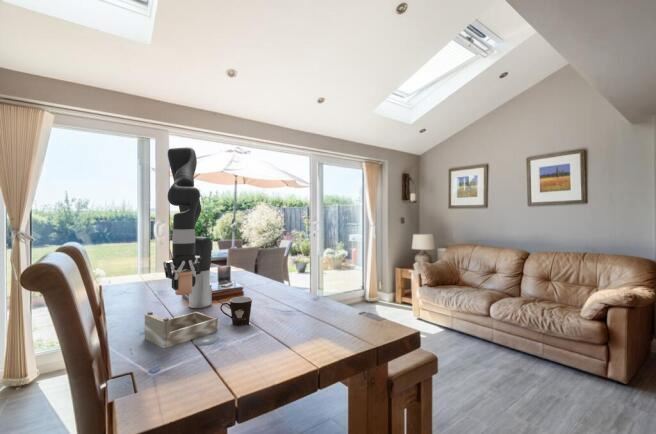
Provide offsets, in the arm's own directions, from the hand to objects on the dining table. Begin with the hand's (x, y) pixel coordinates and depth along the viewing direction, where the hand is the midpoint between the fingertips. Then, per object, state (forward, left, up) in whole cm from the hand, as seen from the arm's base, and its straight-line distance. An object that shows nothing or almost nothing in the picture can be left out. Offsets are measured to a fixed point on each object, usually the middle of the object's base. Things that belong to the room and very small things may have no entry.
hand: (183, 287), depth 113 cm
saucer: (-1, +12, -17) cm, 21 cm away
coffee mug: (-19, +6, -17) cm, 27 cm away
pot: (0, 0, -2) cm, 2 cm away
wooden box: (0, 0, -17) cm, 17 cm away
